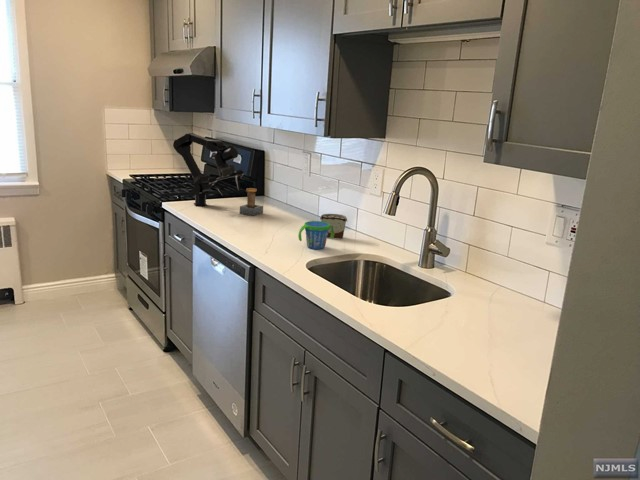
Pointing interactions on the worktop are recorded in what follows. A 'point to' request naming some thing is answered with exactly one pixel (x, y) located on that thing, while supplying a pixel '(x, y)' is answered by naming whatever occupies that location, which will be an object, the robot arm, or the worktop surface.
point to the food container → (335, 224)
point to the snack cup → (316, 234)
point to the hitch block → (251, 210)
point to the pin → (251, 197)
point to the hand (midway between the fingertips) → (230, 192)
